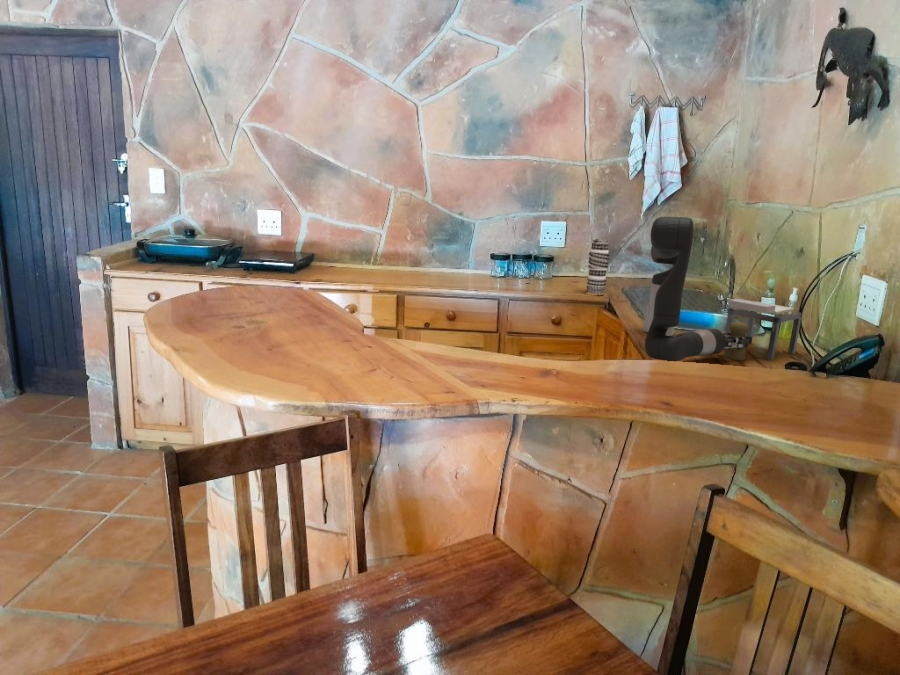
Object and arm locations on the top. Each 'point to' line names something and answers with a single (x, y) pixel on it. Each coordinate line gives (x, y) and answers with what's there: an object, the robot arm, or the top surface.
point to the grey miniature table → (774, 331)
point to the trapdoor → (759, 306)
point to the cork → (740, 331)
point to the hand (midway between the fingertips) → (743, 337)
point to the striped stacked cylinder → (598, 266)
